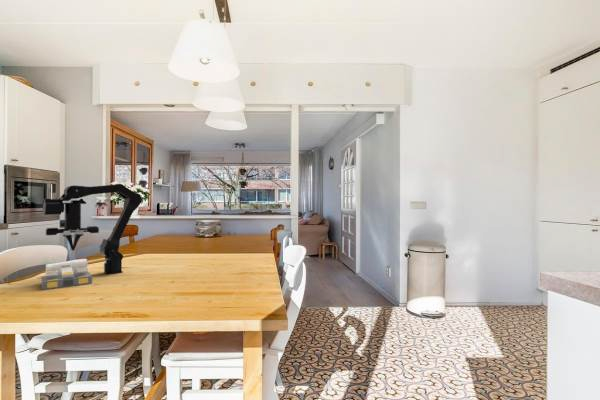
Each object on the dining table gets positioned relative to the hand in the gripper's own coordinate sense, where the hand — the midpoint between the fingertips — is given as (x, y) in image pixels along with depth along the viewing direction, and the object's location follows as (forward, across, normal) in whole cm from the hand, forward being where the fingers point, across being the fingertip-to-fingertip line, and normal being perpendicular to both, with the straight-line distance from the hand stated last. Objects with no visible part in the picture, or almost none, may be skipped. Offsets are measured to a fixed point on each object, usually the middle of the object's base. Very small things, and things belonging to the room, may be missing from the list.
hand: (72, 250), depth 145 cm
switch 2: (+7, +3, +10) cm, 13 cm away
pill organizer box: (+12, +3, +10) cm, 16 cm away
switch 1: (+7, +8, +10) cm, 15 cm away
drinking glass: (+9, +9, -10) cm, 16 cm away
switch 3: (+7, -2, +10) cm, 12 cm away
